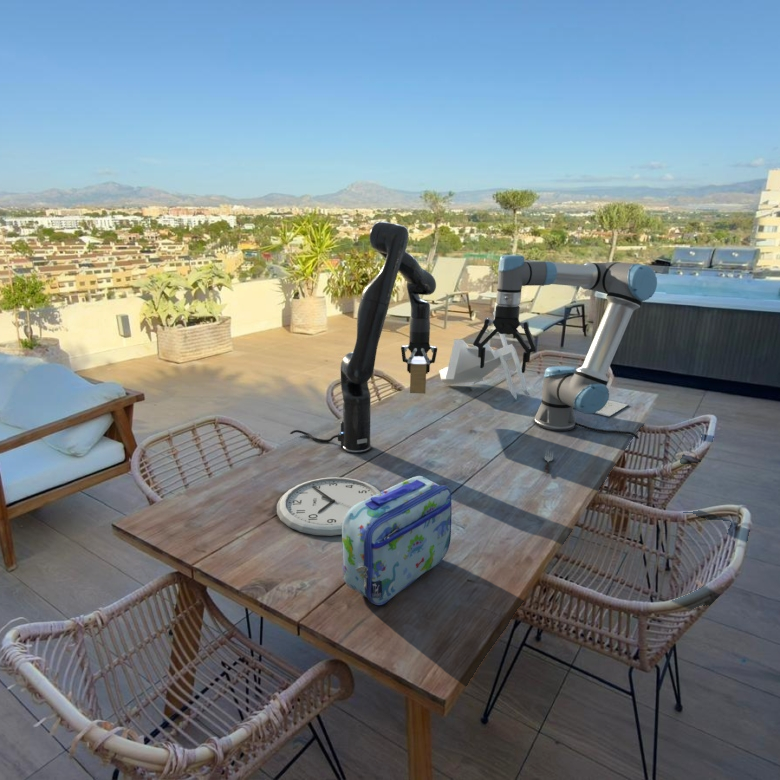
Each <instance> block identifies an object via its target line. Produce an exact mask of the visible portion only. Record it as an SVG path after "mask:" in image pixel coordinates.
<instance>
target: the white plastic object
mask: <svg viewBox="0 0 780 780" xmlns="http://www.w3.org/2000/svg"><path fill="white" fill-rule="evenodd" d="M492 315H493V319H495V311H492ZM498 335H499V338H500V342H501V345H502V347H500V348H498V349H496V350H495V349H493V348H492V347H491V346H490V344H489V343H488V342H487V343H486V344H485V345H484V346H483V347H485V361H484V367H483V368H480V363H481V358H480V357H478V347H477V346H474V345H473V346H469V345H468V343H466V342H465V340H464V339H463V338H460V339H458V338H454V340H453V344H452V349H451V353H450V357H449V362H448V366H446V367H444V368H442V369H440V370H439V371H438V372H439V376H440V381H442V383H443V384H444V385H445V386H449V385H458V384H467V383H468V384H469V383H473V384H477V383H480V382H482V381H484V378H485V377H486V376H487V375H489V374H490V373H492V372H494V371H495V370H496V369H497V368H499V367H500V366H502V370H503V373H504V376H505V380H506V383H507V386H508V390H509V393H510V394H511V395H512V397H513V398H514V399H515V400H517V392H516V391H517V390H516V388H515V385H514V381H513V378H512V375H511V371H510V369H509V365H508V361H510V360H513V363H514V366H515V369H516V372H517V376H518V380H519V382H520V385H521V389H522V391H523V393H524V395H525V396H526V397H528V396H531V395H530V390H529V388H528V387H529V386H528V384H527V381H526V378H525V375H524V373H522V365H521V362H520V359H519V355H518V352H517V349H516V347H515V346H514V345H513V343H511V344H508V341H507V337H506V334H500V333H499V332H498Z"/></svg>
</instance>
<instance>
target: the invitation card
mask: <svg viewBox="0 0 780 780" xmlns="http://www.w3.org/2000/svg"><path fill="white" fill-rule="evenodd" d="M628 406H629V404H627V403H623V402H618V401H614V400H609V399H608V402H607V403H606V405H605V406H604V407H603V408H602V409H601V410H600V411H597V412H596V413H595V414H596V415H600V416H604V417H608V418H609V417H611V416H613V415H614V414H616V413H617V412H619V411H621V410H623V409H624V408H626V407H628Z"/></svg>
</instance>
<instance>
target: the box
mask: <svg viewBox="0 0 780 780" xmlns="http://www.w3.org/2000/svg"><path fill="white" fill-rule="evenodd" d="M426 363H427V362H426V360H425V358H424V356H423V357H421V356H414V357H413V359H412V361H411V372H410V373H409V375H410V376H409V377H410V378H409V394H426V388H427V385H426V384H427V374H426Z"/></svg>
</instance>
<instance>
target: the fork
mask: <svg viewBox="0 0 780 780" xmlns="http://www.w3.org/2000/svg"><path fill="white" fill-rule="evenodd" d="M547 450H548V449H546V451H545V455H544V461H546V463H545V468H544V469H545V474H547V473H548V471H549V469H550V462H553V460H554V452H552V451H550V450H548V451H547ZM549 451H550V452H549Z"/></svg>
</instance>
